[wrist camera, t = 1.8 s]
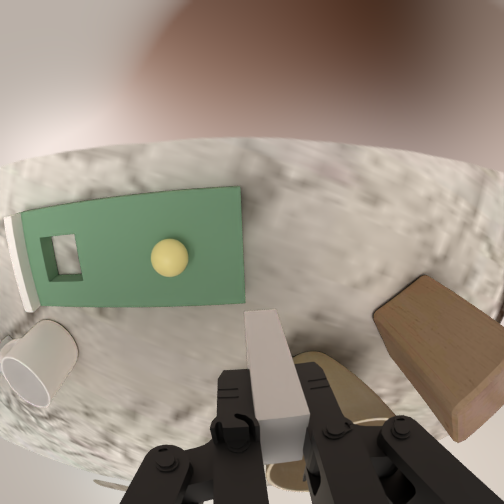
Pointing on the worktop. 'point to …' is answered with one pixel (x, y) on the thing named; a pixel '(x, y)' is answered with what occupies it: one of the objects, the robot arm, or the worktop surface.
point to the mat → (132, 250)
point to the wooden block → (446, 353)
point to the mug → (39, 362)
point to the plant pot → (351, 404)
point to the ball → (169, 257)
